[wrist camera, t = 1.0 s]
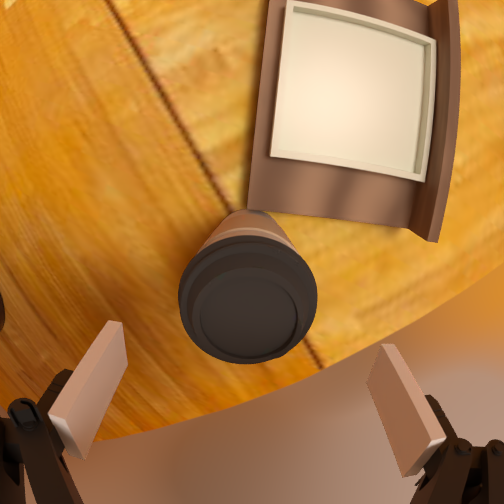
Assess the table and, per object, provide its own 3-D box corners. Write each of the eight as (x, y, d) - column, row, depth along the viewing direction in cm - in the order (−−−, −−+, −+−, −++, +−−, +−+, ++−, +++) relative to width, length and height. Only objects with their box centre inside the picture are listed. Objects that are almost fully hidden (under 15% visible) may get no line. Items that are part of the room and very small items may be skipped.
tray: (269, 155, 26) (270, 156, 25) (284, 7, 22) (287, -1, 20) (415, 179, 27) (424, 182, 25) (427, 44, 22) (436, 40, 20)
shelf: (247, 202, 31) (246, 220, 24) (271, -21, 23) (276, -55, 16) (404, 222, 32) (437, 242, 25) (424, 17, 23) (457, -1, 17)
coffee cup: (187, 253, 33) (146, 338, 18) (234, 179, 30) (221, 216, 16) (260, 297, 34) (266, 398, 20) (310, 230, 32) (356, 302, 18)
